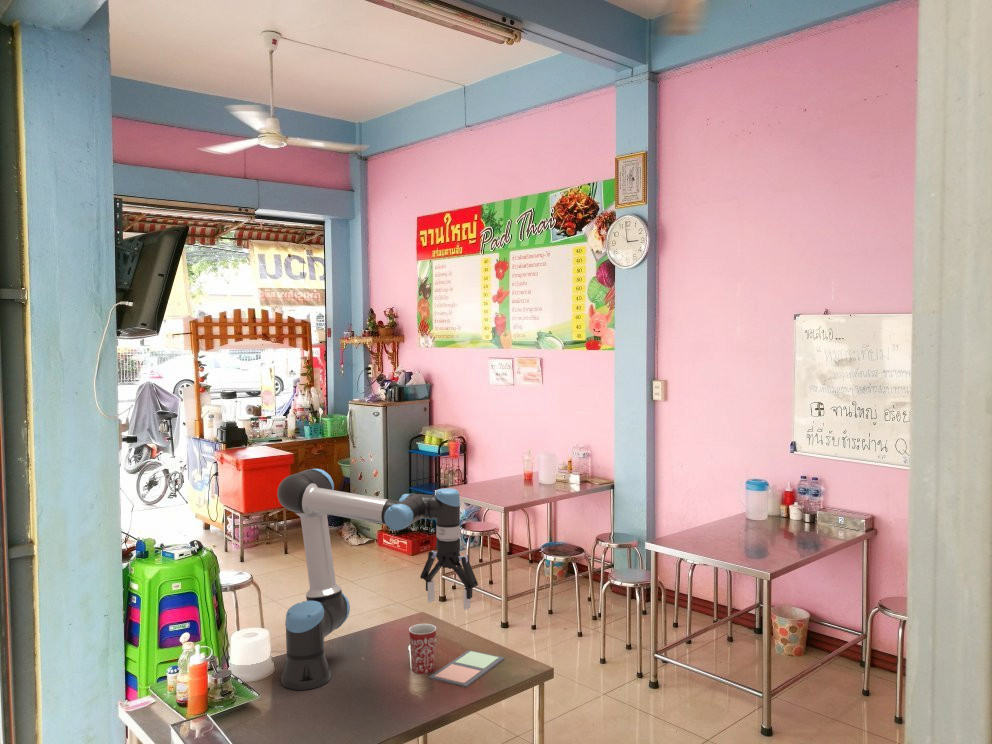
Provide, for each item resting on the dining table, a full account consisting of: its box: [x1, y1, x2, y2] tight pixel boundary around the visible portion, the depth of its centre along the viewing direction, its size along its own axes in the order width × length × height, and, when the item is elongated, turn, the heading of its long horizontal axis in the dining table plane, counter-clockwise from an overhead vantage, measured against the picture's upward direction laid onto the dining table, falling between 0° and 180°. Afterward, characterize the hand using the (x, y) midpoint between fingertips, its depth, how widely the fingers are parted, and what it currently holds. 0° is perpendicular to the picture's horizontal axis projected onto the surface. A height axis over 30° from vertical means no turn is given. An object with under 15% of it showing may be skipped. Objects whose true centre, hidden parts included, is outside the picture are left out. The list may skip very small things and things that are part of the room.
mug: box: [408, 623, 437, 675], centre depth 252 cm, size 13×9×14 cm
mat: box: [428, 649, 505, 689], centre depth 250 cm, size 14×24×1 cm, turn 151°
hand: (448, 605), depth 243 cm, fingers open, 13 cm apart
